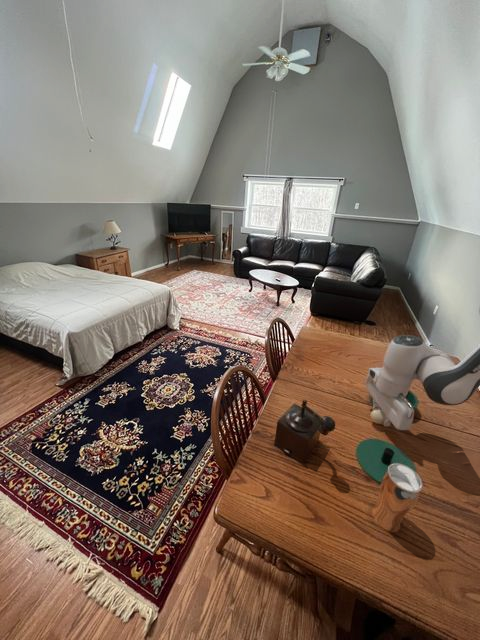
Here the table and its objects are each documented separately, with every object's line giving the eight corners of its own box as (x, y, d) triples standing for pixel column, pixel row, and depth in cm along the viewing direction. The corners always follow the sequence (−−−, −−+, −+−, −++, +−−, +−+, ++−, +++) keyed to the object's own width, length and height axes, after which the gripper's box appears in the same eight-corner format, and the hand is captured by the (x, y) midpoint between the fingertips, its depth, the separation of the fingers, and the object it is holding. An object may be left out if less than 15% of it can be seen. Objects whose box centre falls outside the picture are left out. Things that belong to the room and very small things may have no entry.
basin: (397, 392, 106) (401, 381, 104) (422, 420, 93) (428, 408, 90) (362, 392, 105) (365, 381, 102) (382, 421, 91) (387, 409, 89)
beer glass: (364, 516, 63) (381, 474, 57) (377, 497, 68) (394, 456, 61) (394, 543, 59) (416, 500, 52) (407, 521, 63) (428, 479, 57)
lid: (394, 440, 84) (398, 428, 82) (429, 489, 70) (436, 477, 68) (346, 441, 83) (350, 429, 81) (372, 492, 69) (377, 479, 67)
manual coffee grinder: (271, 445, 80) (277, 398, 73) (289, 424, 88) (297, 379, 81) (320, 477, 72) (333, 428, 64) (335, 450, 80) (348, 404, 72)
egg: (386, 416, 91) (389, 406, 89) (393, 426, 87) (397, 416, 85) (366, 417, 91) (369, 406, 89) (373, 426, 87) (376, 416, 85)
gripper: (425, 408, 73) (409, 444, 79) (384, 365, 92) (373, 397, 98) (404, 408, 73) (389, 444, 79) (366, 365, 91) (357, 397, 97)
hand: (380, 417), depth 88 cm, fingers closed on egg, 4 cm apart
